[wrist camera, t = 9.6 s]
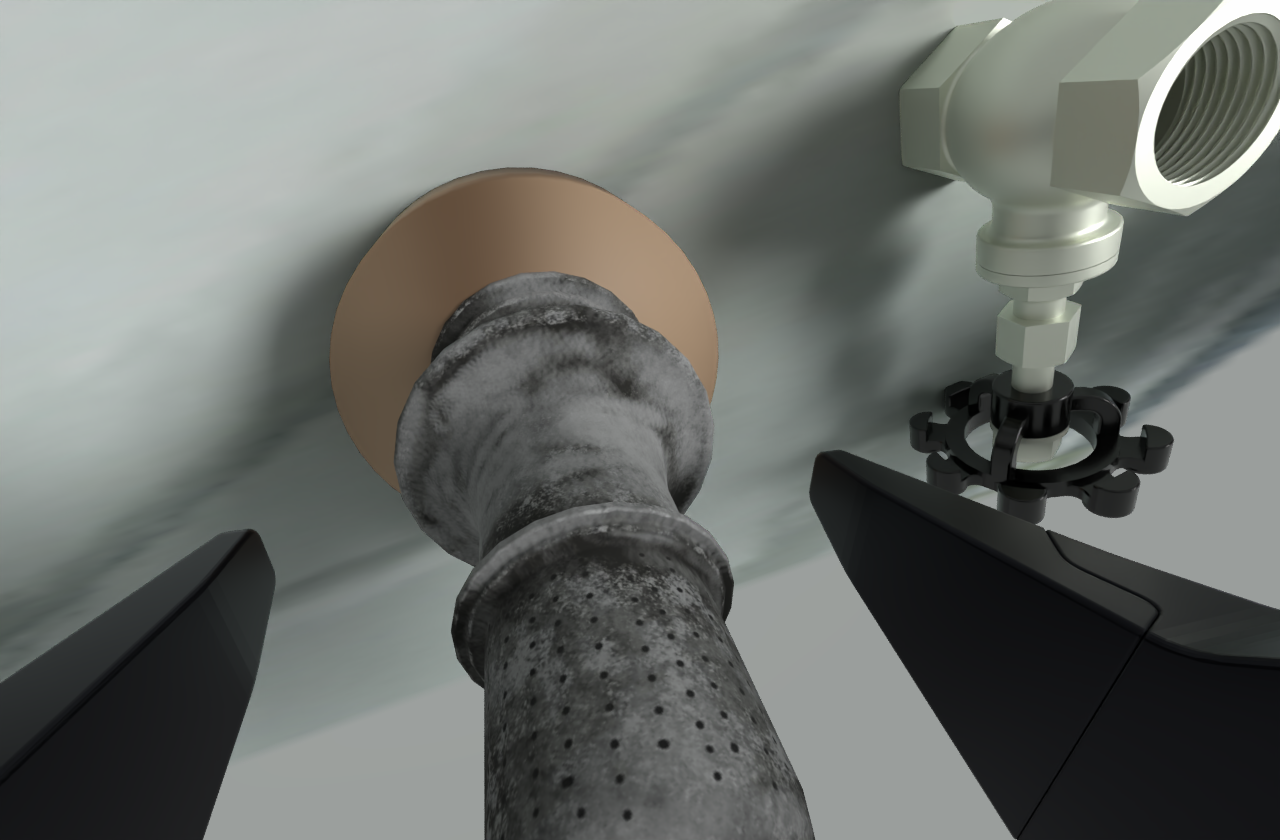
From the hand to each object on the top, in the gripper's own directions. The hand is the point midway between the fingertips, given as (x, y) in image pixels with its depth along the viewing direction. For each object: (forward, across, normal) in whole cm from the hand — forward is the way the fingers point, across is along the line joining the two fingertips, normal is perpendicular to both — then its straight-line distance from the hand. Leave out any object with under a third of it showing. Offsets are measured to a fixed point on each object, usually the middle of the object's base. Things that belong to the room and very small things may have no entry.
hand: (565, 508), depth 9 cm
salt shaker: (+5, 0, 0) cm, 5 cm away
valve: (+8, -13, -2) cm, 15 cm away
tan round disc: (+8, 0, 0) cm, 8 cm away
